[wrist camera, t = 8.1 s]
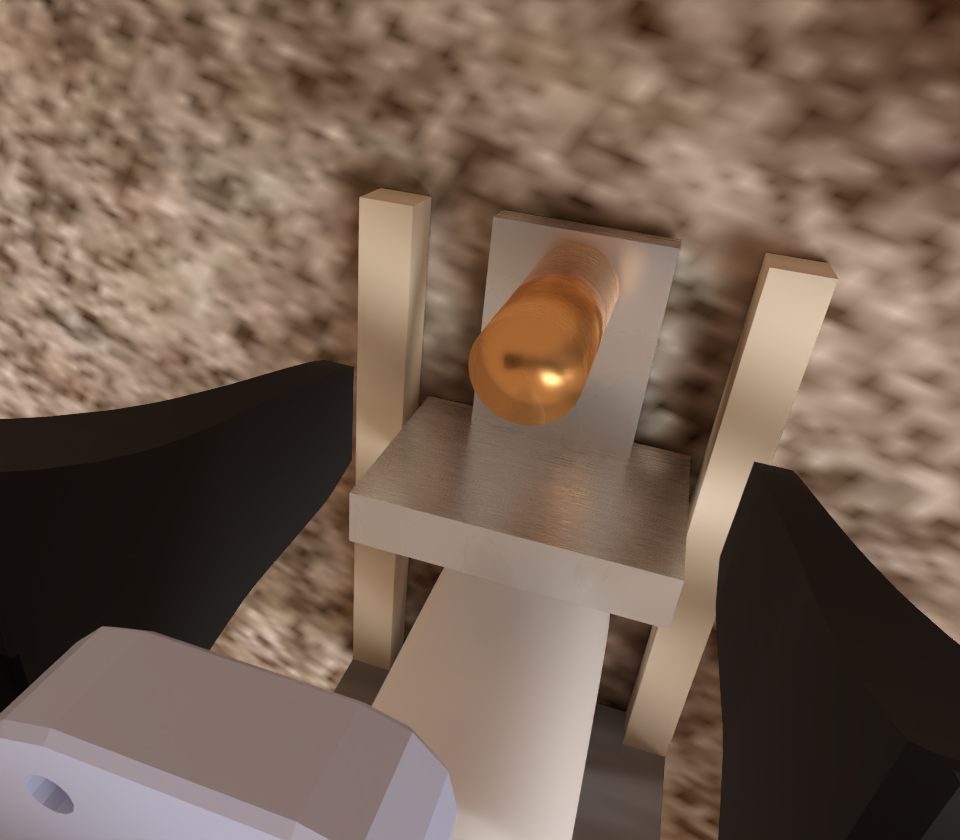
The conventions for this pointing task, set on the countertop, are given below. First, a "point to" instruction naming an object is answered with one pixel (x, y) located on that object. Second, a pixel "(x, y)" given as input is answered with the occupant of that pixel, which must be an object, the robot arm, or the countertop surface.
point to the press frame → (719, 487)
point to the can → (502, 702)
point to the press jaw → (547, 432)
